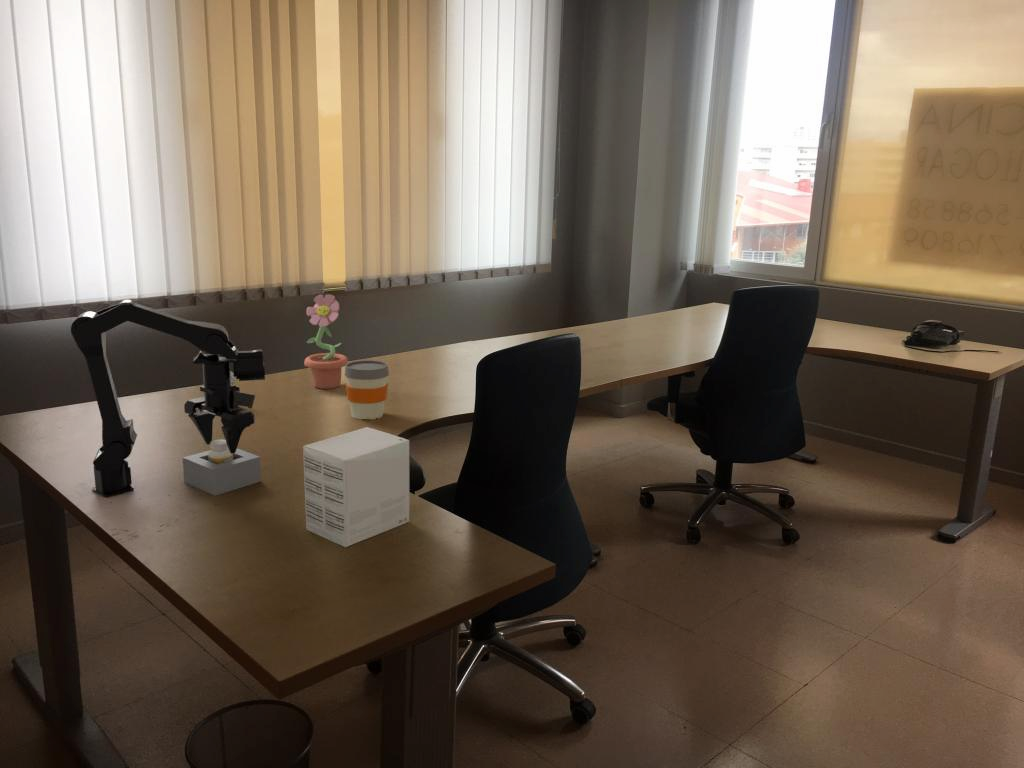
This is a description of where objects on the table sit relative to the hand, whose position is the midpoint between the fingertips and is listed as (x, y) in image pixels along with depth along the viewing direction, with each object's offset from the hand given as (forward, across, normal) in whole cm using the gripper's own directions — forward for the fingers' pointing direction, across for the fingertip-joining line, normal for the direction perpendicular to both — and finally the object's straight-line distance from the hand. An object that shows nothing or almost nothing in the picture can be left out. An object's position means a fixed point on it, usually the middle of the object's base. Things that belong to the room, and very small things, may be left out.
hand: (220, 448), depth 198 cm
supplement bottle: (+8, 0, 0) cm, 8 cm away
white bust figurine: (+8, +52, -36) cm, 64 cm away
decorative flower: (+8, +50, -72) cm, 88 cm away
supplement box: (+8, -41, -4) cm, 42 cm away
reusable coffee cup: (+8, +16, -59) cm, 62 cm away
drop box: (+8, 0, 0) cm, 8 cm away
